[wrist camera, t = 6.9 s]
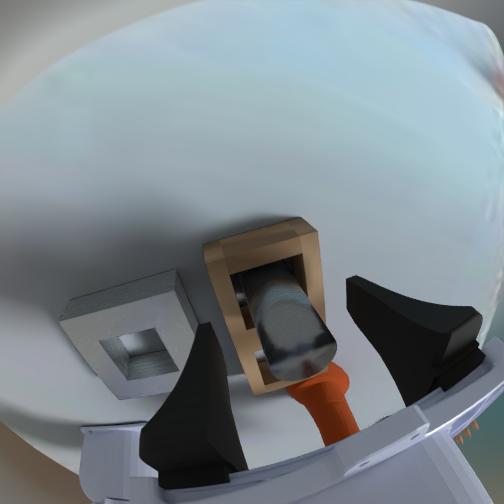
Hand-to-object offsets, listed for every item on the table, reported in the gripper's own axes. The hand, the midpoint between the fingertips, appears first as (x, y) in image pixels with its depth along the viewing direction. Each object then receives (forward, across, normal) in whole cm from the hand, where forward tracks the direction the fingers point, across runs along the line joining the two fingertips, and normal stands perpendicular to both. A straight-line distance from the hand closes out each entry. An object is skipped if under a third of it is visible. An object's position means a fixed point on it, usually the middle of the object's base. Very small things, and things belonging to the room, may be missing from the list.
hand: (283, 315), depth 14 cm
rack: (+4, 0, +3) cm, 5 cm away
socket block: (+4, +9, +2) cm, 10 cm away
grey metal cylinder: (+4, 0, 0) cm, 4 cm away
